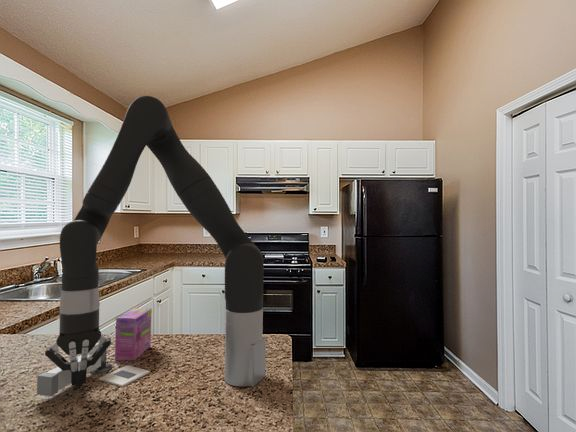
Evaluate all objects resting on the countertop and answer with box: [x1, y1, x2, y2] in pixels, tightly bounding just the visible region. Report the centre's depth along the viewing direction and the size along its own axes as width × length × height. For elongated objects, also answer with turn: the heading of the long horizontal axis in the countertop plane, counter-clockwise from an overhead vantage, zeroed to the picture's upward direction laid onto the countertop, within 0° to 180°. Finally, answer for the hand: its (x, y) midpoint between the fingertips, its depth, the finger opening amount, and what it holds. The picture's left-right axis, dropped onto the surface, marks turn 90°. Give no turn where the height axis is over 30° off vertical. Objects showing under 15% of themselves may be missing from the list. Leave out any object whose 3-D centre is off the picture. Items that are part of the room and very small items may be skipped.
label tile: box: [98, 364, 151, 388], centre depth 81 cm, size 8×8×1 cm
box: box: [114, 307, 152, 361], centre depth 95 cm, size 10×6×12 cm, turn 179°
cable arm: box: [36, 336, 112, 397], centre depth 78 cm, size 18×4×6 cm, turn 169°
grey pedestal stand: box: [90, 348, 113, 374], centre depth 85 cm, size 5×5×6 cm
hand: (78, 385), depth 73 cm, fingers closed
